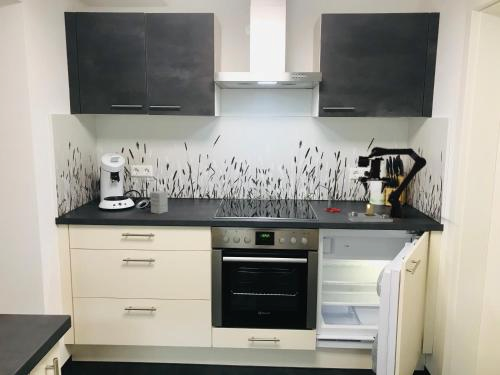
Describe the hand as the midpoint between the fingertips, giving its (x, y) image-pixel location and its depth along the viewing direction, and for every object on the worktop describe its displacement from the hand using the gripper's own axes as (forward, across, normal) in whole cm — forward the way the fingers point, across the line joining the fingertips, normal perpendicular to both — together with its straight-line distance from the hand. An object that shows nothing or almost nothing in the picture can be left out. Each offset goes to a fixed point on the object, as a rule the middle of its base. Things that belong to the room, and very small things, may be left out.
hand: (374, 193), depth 244 cm
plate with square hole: (+13, +6, +14) cm, 20 cm away
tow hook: (+13, +22, -11) cm, 28 cm away
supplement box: (+13, +130, -5) cm, 131 cm away
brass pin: (+13, +6, +14) cm, 20 cm away
